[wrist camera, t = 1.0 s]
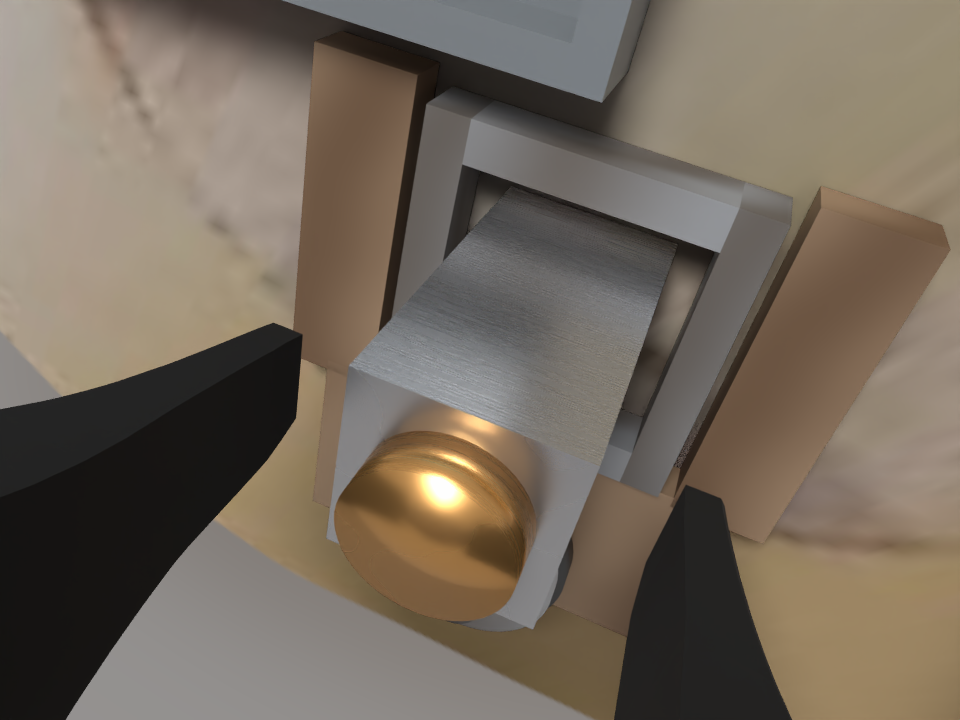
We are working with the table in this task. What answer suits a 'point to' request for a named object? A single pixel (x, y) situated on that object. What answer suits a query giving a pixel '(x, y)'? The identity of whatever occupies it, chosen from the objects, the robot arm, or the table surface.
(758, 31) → the table surface
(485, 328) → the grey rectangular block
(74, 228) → the table surface
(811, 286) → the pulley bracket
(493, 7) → the tray
